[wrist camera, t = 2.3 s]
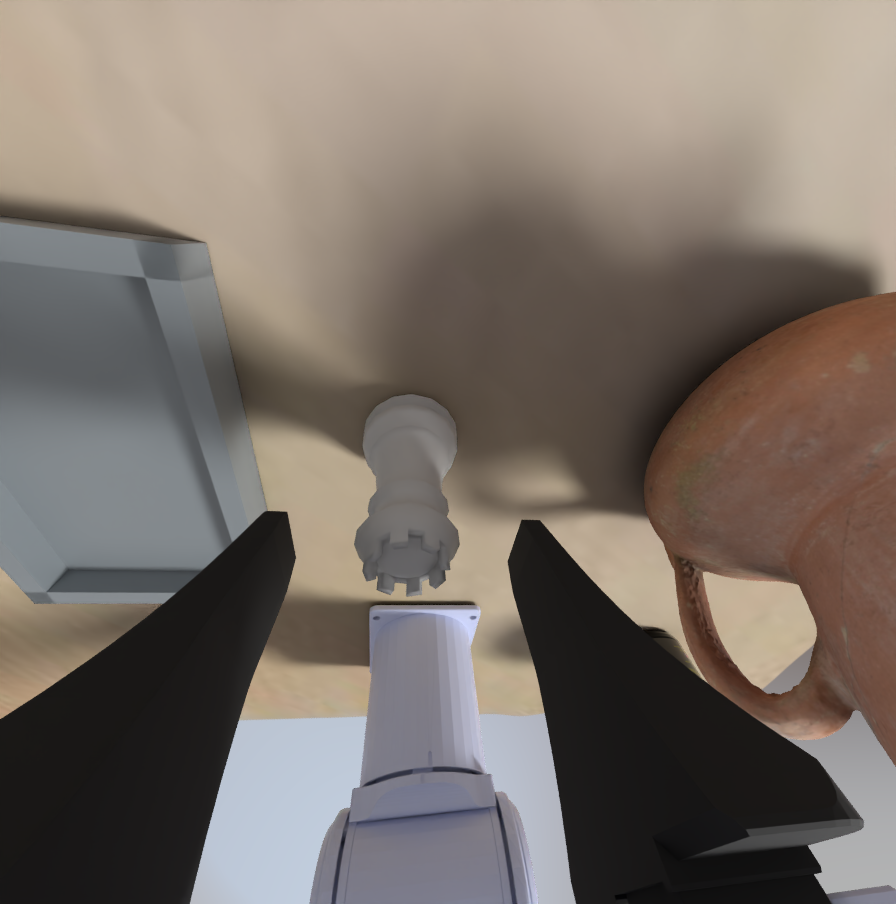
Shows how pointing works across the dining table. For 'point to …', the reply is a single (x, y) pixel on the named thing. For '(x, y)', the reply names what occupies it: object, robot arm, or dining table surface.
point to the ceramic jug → (794, 508)
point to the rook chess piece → (408, 494)
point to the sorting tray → (116, 416)
